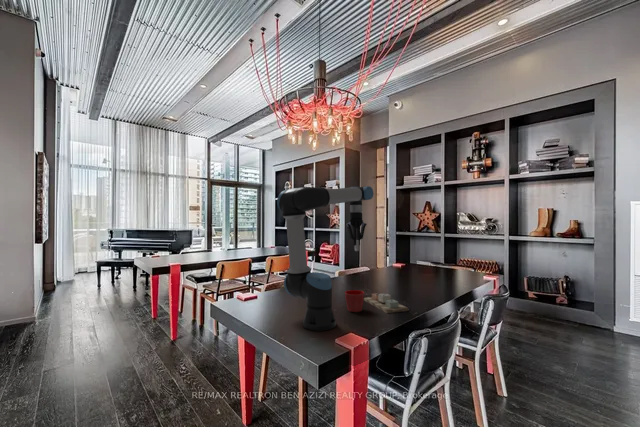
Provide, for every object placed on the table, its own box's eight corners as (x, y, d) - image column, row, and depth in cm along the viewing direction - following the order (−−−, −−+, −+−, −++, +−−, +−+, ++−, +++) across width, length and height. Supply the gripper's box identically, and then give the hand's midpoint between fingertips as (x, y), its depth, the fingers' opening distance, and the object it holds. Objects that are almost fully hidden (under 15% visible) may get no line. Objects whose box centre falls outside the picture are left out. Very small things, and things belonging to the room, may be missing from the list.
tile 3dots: (383, 301, 169) (383, 294, 170) (375, 301, 168) (375, 295, 168) (379, 299, 174) (379, 292, 174) (371, 299, 173) (371, 293, 173)
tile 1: (390, 301, 162) (390, 295, 162) (382, 302, 160) (382, 295, 161) (386, 299, 167) (385, 293, 167) (378, 300, 165) (378, 293, 165)
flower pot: (341, 311, 152) (341, 293, 153) (349, 306, 162) (349, 289, 162) (360, 314, 147) (360, 295, 148) (367, 308, 157) (367, 290, 157)
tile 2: (398, 308, 154) (398, 301, 154) (390, 309, 153) (390, 302, 153) (393, 306, 159) (393, 299, 159) (385, 306, 158) (385, 300, 158)
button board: (408, 310, 153) (408, 307, 153) (386, 313, 149) (386, 310, 149) (382, 298, 178) (382, 296, 178) (363, 300, 174) (363, 297, 174)
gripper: (363, 212, 180) (363, 249, 179) (343, 212, 176) (344, 250, 175) (368, 211, 173) (369, 250, 172) (348, 211, 169) (349, 251, 168)
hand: (356, 250), depth 174 cm, fingers closed
